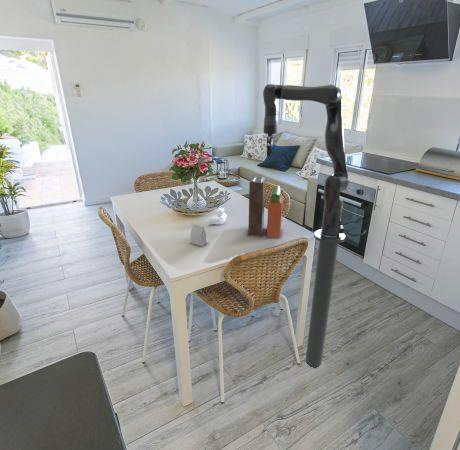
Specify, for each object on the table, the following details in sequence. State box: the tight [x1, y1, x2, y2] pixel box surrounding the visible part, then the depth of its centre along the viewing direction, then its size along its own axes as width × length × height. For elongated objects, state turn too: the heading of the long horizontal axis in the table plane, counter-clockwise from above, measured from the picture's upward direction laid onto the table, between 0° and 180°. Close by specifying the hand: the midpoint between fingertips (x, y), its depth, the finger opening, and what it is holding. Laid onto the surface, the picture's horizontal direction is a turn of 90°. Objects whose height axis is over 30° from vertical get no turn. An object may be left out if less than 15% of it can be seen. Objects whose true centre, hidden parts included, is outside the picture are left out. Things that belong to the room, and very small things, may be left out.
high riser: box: [247, 175, 266, 237], centre depth 169 cm, size 7×12×31 cm, turn 171°
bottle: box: [270, 184, 282, 203], centre depth 169 cm, size 5×21×5 cm, turn 171°
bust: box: [209, 207, 228, 226], centre depth 183 cm, size 12×8×11 cm
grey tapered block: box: [190, 223, 207, 247], centre depth 158 cm, size 4×7×10 cm, turn 58°
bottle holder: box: [266, 195, 284, 239], centre depth 170 cm, size 7×12×21 cm, turn 171°
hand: (269, 154), depth 177 cm, fingers open, 8 cm apart
